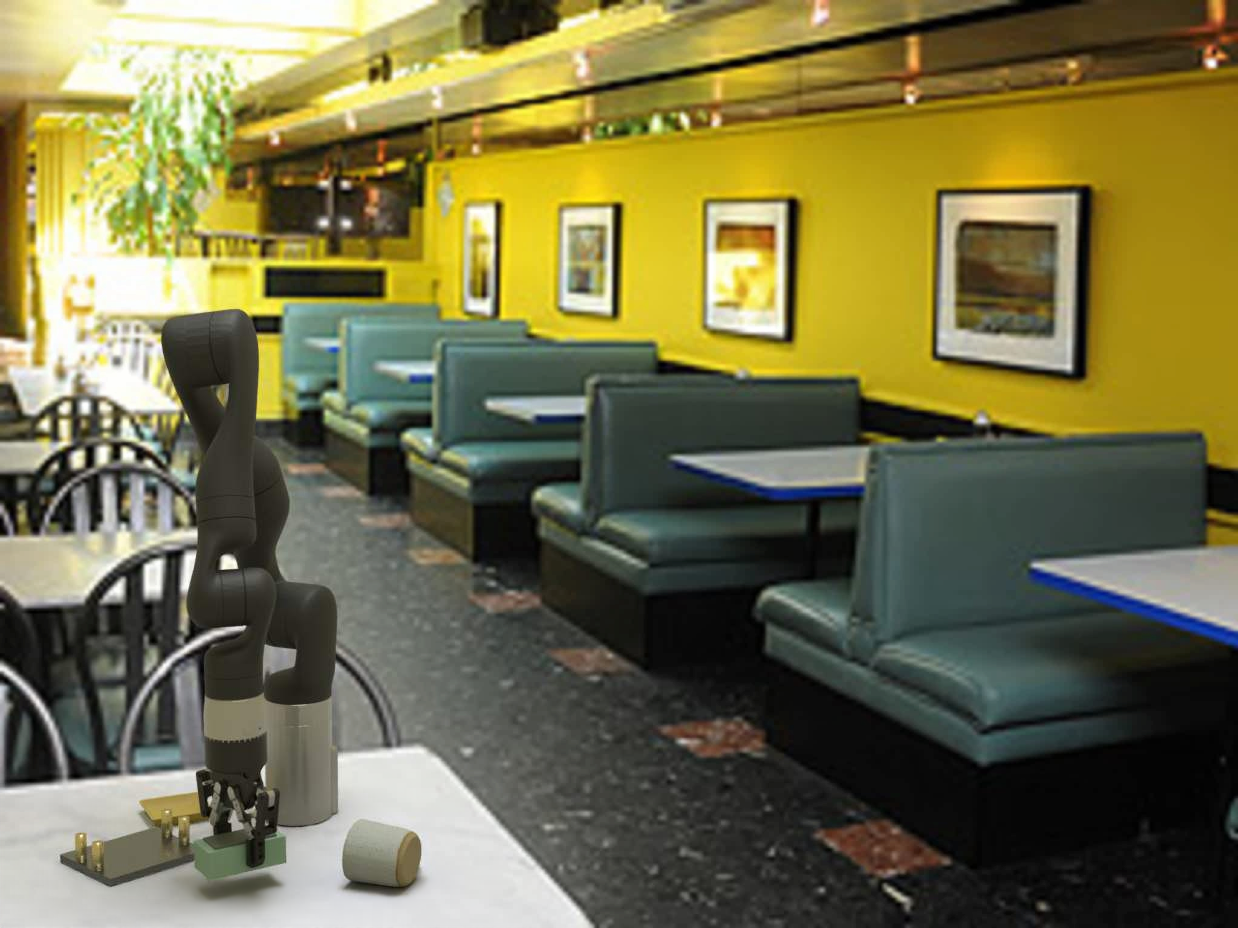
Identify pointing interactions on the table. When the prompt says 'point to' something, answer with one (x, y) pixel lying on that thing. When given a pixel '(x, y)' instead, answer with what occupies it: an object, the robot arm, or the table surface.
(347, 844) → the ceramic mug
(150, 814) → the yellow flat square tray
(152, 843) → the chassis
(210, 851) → the green rectangular block
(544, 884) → the table surface
